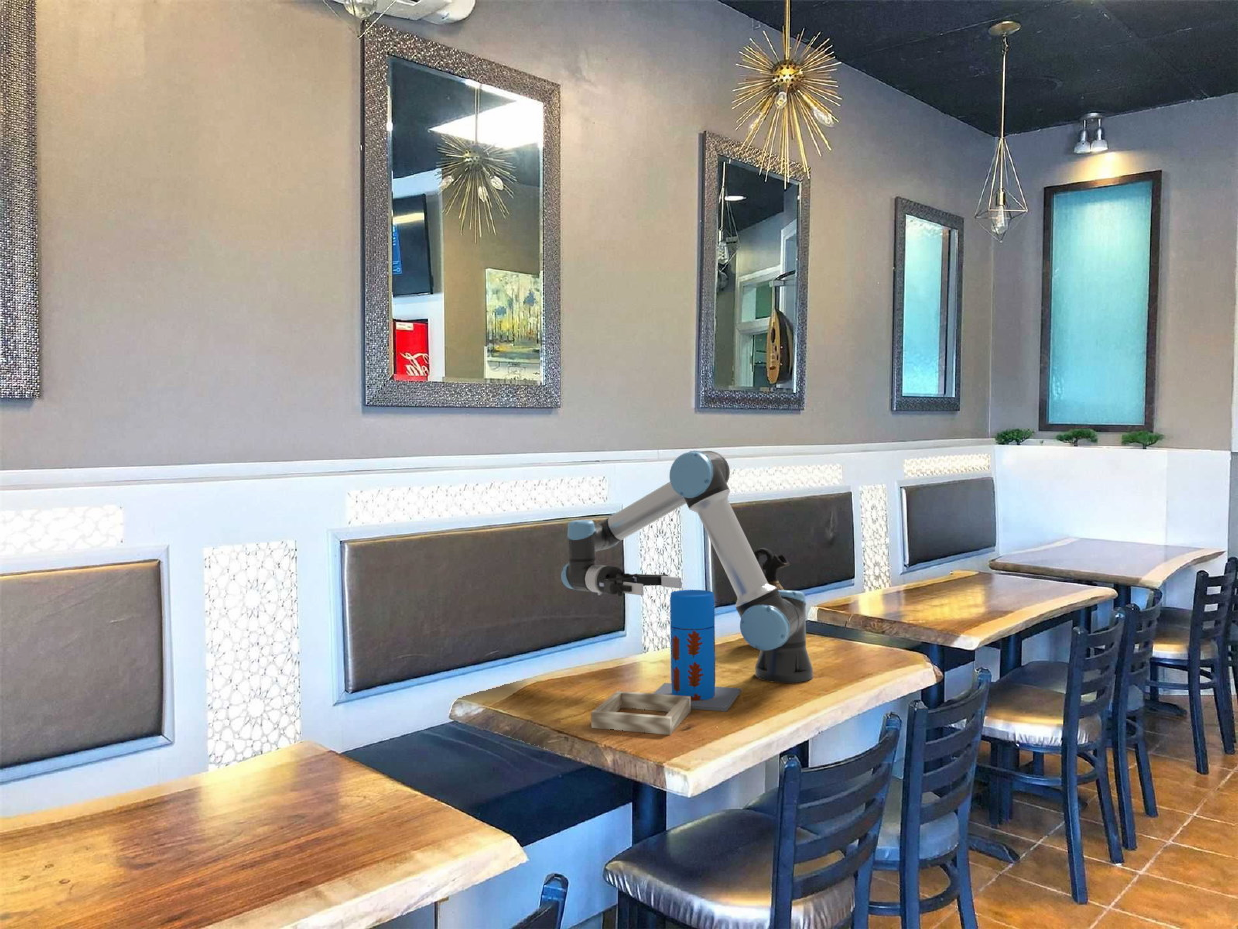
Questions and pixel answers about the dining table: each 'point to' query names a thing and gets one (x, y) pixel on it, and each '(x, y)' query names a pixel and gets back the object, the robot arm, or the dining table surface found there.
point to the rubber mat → (717, 703)
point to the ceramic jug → (772, 565)
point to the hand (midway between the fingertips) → (661, 586)
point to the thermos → (692, 644)
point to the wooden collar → (611, 719)
